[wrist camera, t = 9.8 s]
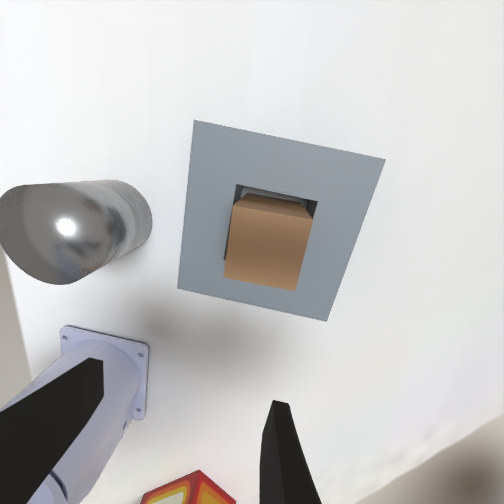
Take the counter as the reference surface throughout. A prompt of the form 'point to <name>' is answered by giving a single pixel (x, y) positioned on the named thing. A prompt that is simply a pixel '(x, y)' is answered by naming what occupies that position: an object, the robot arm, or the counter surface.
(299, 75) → the counter surface
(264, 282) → the square peg
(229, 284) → the socket block
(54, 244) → the round peg
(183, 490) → the baking soda box
